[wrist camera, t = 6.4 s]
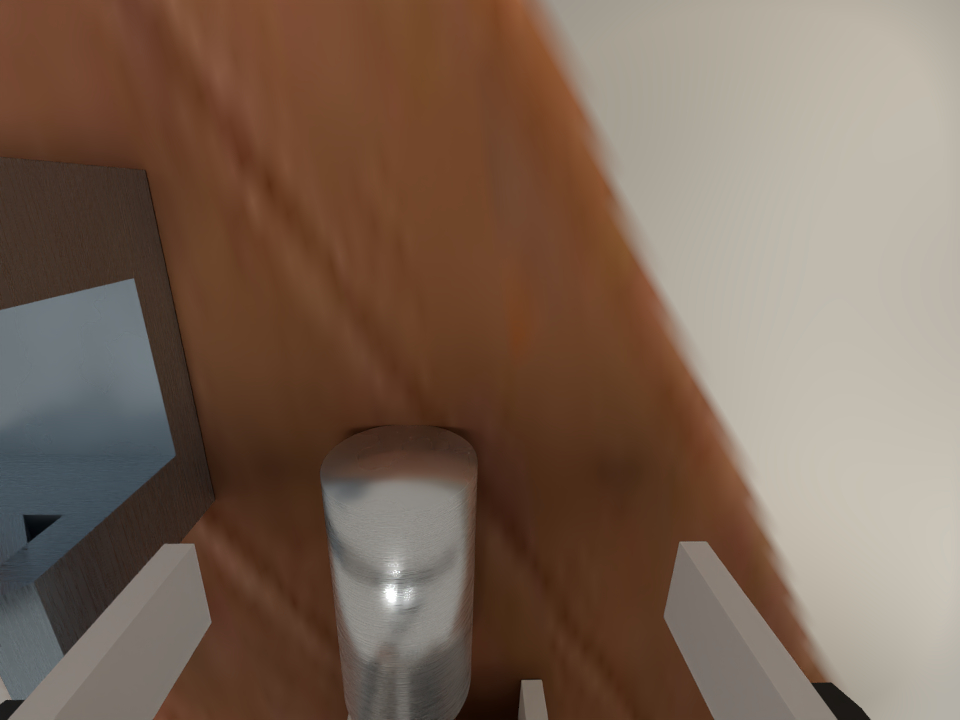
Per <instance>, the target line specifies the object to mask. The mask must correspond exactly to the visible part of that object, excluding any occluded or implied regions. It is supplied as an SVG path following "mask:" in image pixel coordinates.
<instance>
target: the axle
mask: <svg viewBox="0 0 960 720" xmlns="http://www.w3.org/2000/svg"><path fill="white" fill-rule="evenodd" d="M477 468H478V460H477V455H476V452H475V450H474V449H473V447H472V446H471V445H470V444H469V443H468V442H467V441H466V440H465V439H464V438H462V437H461V436H459V435H457V434H455V433H453V432H451V431H448V430H445V429H442V428H438V427H434V426H410V425H388V426H382V427H377V428H373V429H369V430H366V431H363V432H360V433H358V434H355V435H353V436H351V437H349V438H347V439H345V440H344V441H342V442H341V443H339V444H338V445H336V446H335V447H334V448H333V449H332V450H331V451H330V452H329V453H328V454H327V455H326V457H325V458H324V460H323V462H322V465H321V469H320V479H321V488H322V497H323V506H324V515H325V524H326V533H327V542H328V551H329V560H330V569H331V578H332V587H333V596H334V605H335V614H336V623H337V632H338V641H339V650H340V659H341V668H342V677H343V686H344V695H345V702H346V707H347V710H348V712H349V715H350V717H351V719H352V720H454V719H455V718H456V716H457V715H458V713H459V712H460V710H461V709H462V707H463V705H464V703H465V700H466V698H467V695H468V692H469V687H470V682H471V657H472V626H473V594H474V563H475V531H476V500H477Z"/></svg>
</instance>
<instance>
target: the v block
mask: <svg viewBox="0 0 960 720" xmlns="http://www.w3.org/2000/svg"><path fill="white" fill-rule="evenodd" d="M214 501H215V499H214V494H213V489H212V484H211V480H210V475H209V470H208V465H207V461H206V456H205V451H204V446H203V442H202V437H201V432H200V428H199V423H198V418H197V413H196V409H195V404H194V399H193V394H192V390H191V385H190V380H189V376H188V371H187V366H186V361H185V357H184V352H183V347H182V342H181V338H180V333H179V328H178V323H177V319H176V314H175V309H174V305H173V300H172V295H171V290H170V286H169V281H168V276H167V271H166V267H165V262H164V257H163V253H162V248H161V243H160V238H159V234H158V229H157V224H156V219H155V215H154V210H153V205H152V201H151V196H150V191H149V186H148V182H147V177H146V172H145V170H137V169H126V168H115V167H104V166H93V165H82V164H71V163H60V162H49V161H38V160H27V159H16V158H5V157H0V676H1V678H2V680H3V682H4V684H5V686H6V688H7V690H8V692H9V694H10V696H11V698H12V700H26V699H27V697H28V696H29V695H30V694H31V693H32V692H33V691H34V690H35V688H36V687H37V686H38V685H39V684H40V683H41V682H42V681H43V679H44V678H45V677H46V676H47V675H48V674H49V673H50V672H51V670H52V669H53V668H54V667H55V666H56V665H57V664H58V663H59V661H60V660H61V659H62V658H63V657H64V656H65V655H66V654H67V653H68V651H69V650H70V649H71V648H72V647H73V646H74V645H75V644H76V642H77V641H78V640H79V639H80V638H81V637H82V636H83V635H84V633H85V632H86V631H87V630H88V629H89V628H90V627H91V626H92V624H93V623H94V622H95V621H96V620H97V619H98V618H99V617H100V615H101V614H102V613H103V612H104V611H105V610H106V609H107V608H108V606H109V605H110V604H111V603H112V602H113V601H114V600H115V599H116V597H117V596H118V595H119V594H120V593H121V592H122V591H123V590H124V589H125V587H126V586H127V585H128V584H129V583H130V582H131V581H132V580H133V578H134V577H135V576H136V575H137V574H138V573H139V572H140V571H141V569H142V568H143V567H144V566H145V565H146V564H147V563H148V562H149V560H150V559H151V558H152V557H153V556H154V555H155V554H156V553H157V551H158V550H159V549H160V548H161V547H162V546H163V545H164V544H179V543H180V542H181V541H182V540H183V539H184V537H185V536H186V535H187V534H188V532H189V531H190V530H191V529H192V528H193V526H194V525H195V524H196V523H197V522H198V520H199V519H200V518H201V517H202V516H203V514H204V513H205V512H206V511H207V509H208V508H209V507H210V506H211V505H212V503H213V502H214Z"/></svg>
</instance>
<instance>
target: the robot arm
mask: <svg viewBox="0 0 960 720" xmlns="http://www.w3.org/2000/svg"><path fill="white" fill-rule="evenodd" d="M664 619H665V621H666V623H667V625H668V627H669V629H670V631H671V633H672V635H673V637H674V639H675V641H676V643H677V645H678V647H679V649H680V651H681V653H682V655H683V657H684V659H685V662H686V664H687V666H688V668H689V670H690V672H691V674H692V676H693V678H694V680H695V682H696V684H697V686H698V688H699V690H700V692H701V694H702V696H703V698H704V700H705V702H706V704H707V706H708V708H709V710H710V712H711V714H712V716H713V718H714V720H870V718H869V717H868V716H867V715H866V713H865V712H864V711H863V710H862V708H860V707H859V706H858V705H857V704H856V703H855V702H854V701H852V700H851V699H850V698H849V697H848V696H846V695H845V694H844V693H843V692H842V691H841V690H840V689H838V688H837V687H836V686H835V685H834V684H832V683H810V682H809V680H808V679H807V678H806V676H805V675H804V673H803V672H802V671H801V669H800V668H799V667H798V665H797V664H796V663H795V661H794V660H793V659H792V657H791V656H790V654H789V653H788V652H787V650H786V649H785V648H784V646H783V645H782V644H781V642H780V641H779V639H778V638H777V637H776V635H775V634H774V633H773V631H772V630H771V629H770V627H769V626H768V625H767V623H766V622H765V620H764V619H763V618H762V616H761V615H760V614H759V612H758V611H757V610H756V608H755V607H754V606H753V604H752V603H751V601H750V600H749V599H748V597H747V596H746V595H745V593H744V592H743V591H742V589H741V588H740V586H739V585H738V584H737V582H736V581H735V580H734V578H733V577H732V576H731V574H730V573H729V572H728V570H727V569H726V567H725V566H724V565H723V563H722V562H721V561H720V559H719V558H718V557H717V555H716V554H715V553H714V551H713V550H712V548H711V547H710V546H709V544H708V543H707V542H679V547H678V551H677V556H676V561H675V565H674V570H673V575H672V579H671V584H670V589H669V594H668V598H667V603H666V608H665V612H664ZM211 623H212V622H211V618H210V613H209V609H208V604H207V600H206V595H205V591H204V586H203V582H202V577H201V573H200V568H199V564H198V559H197V555H196V550H195V545H194V544H164V545H163V546H162V547H161V548H160V549H159V550H158V551H157V553H156V554H155V555H154V556H153V557H152V558H151V559H150V560H149V562H148V563H147V564H146V565H145V566H144V567H143V568H142V569H141V571H140V572H139V573H138V574H137V575H136V576H135V577H134V578H133V580H132V581H131V582H130V583H129V584H128V585H127V586H126V587H125V589H124V590H123V591H122V592H121V593H120V594H119V595H118V596H117V597H116V599H115V600H114V601H113V602H112V603H111V604H110V605H109V606H108V608H107V609H106V610H105V611H104V612H103V613H102V614H101V615H100V617H99V618H98V619H97V620H96V621H95V622H94V623H93V624H92V626H91V627H90V628H89V629H88V630H87V631H86V632H85V633H84V635H83V636H82V637H81V638H80V639H79V640H78V641H77V642H76V644H75V645H74V646H73V647H72V648H71V649H70V650H69V651H68V653H67V654H66V655H65V656H64V657H63V658H62V659H61V660H60V661H59V663H58V664H57V665H56V666H55V667H54V668H53V669H52V670H51V672H50V673H49V674H48V675H47V676H46V677H45V678H44V679H43V681H42V682H41V683H40V684H39V685H38V686H37V687H36V688H35V690H34V691H33V692H32V693H31V694H30V695H29V696H28V697H27V699H26V700H6V701H4V702H3V703H2V704H0V720H153V718H154V717H155V715H156V713H157V712H158V710H159V708H160V707H161V705H162V703H163V702H164V700H165V698H166V697H167V695H168V693H169V692H170V690H171V688H172V687H173V685H174V684H175V682H176V680H177V679H178V677H179V675H180V674H181V672H182V670H183V669H184V667H185V665H186V664H187V662H188V660H189V659H190V657H191V656H192V654H193V652H194V651H195V649H196V647H197V646H198V644H199V642H200V641H201V639H202V637H203V636H204V634H205V632H206V631H207V629H208V628H209V626H210V624H211Z"/></svg>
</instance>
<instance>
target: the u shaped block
mask: <svg viewBox="0 0 960 720" xmlns="http://www.w3.org/2000/svg"><path fill="white" fill-rule="evenodd" d="M347 720H352V719H351V717H350V715H349V714H348V719H347ZM518 720H548V715H547V709H546V703H545V697H544V690H543V684H542V680H521V690H520V702H519V713H518Z"/></svg>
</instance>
